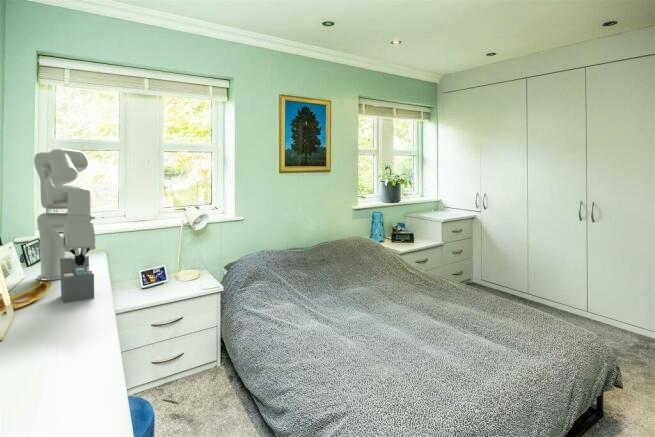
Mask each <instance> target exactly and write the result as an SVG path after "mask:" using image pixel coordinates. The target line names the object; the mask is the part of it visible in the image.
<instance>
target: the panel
mask: <svg viewBox="0 0 655 437" xmlns="http://www.w3.org/2000/svg"><path fill="white" fill-rule="evenodd" d="M60 295H61V302H63V303H64V304H68V303H69V304H70V303H74V302H80V301H85V300H91V299H95V273H94V272H92V274H87V272H85V275H79V276H76V275H75V274H74V276H72V277H64V275H61V279H60Z"/></svg>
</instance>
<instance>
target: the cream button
mask: <svg viewBox="0 0 655 437" xmlns="http://www.w3.org/2000/svg"><path fill="white" fill-rule="evenodd" d="M72 276H74V274H72V273H69V274H64V277H72Z"/></svg>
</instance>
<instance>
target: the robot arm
mask: <svg viewBox="0 0 655 437" xmlns="http://www.w3.org/2000/svg"><path fill="white" fill-rule="evenodd" d="M33 158H34V159H33V160H34V161H33V162H34V163H33V164H34V168H35V170H36V173H37V175H38V177H39V178H38V179H39V182H40V183H39V186H40V187H39V188H40V203H41V207H42V208H44V209H46V210H67V211H54V212H53V211H52V212H51V211H50V212H42V213H41V214H39V215H38V216H37V224H36V225H37V228H38V233H39V243H40V244H39V250H40V251H39V252H40V274H39V275H37V276H36V279H37V281H38V280H39V281H41V280H40V279H49V280H48V281H57V280H61V269H60V258H64V257H66V252H67V253H71V254H73V256H75V264H77V265H78V266H80V265H82V266H83V265H84V263H85V256H87V255H86V254H88V252H90V251H93V250H96V233H95V228H94V223H93V222H92V220H95V219H96V218H95V216H94V215H92V214H91V190H90V188H86V187H82V186H66V184H70V183H72V182H74V181H75V180H76V179H77V177H78V176H79V175H78V173H80V172H82V171H85V170H86V169H87V168H88V166H89V157H88V155H87V154H86V152H84V151H83V150H76V149H65V148H56V149H53V150H52V149H51V151H49V152H48V151H47V152H46V151H43V152H38V153H36V154H35V155H34V157H33ZM64 185H65V186H64ZM59 233H63V234H62V235H63V236H61V235H60V234H59ZM79 249H80V252H79Z"/></svg>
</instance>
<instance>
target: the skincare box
mask: <svg viewBox="0 0 655 437" xmlns="http://www.w3.org/2000/svg"><path fill="white" fill-rule="evenodd" d="M89 257H90V256H89V255H85V263H84V265H83V266H82V265H80V266H78V265H77V264H75V255H72V256H71V255H70V256H69V255H68V256H65V257H64V258H60V269H61V275H64V274H69V273H72V274H75V269H79V268H84V269H85V272H87V267H86V264H88V265H89V266H88V270H90V260H89V259H90V258H89Z"/></svg>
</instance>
